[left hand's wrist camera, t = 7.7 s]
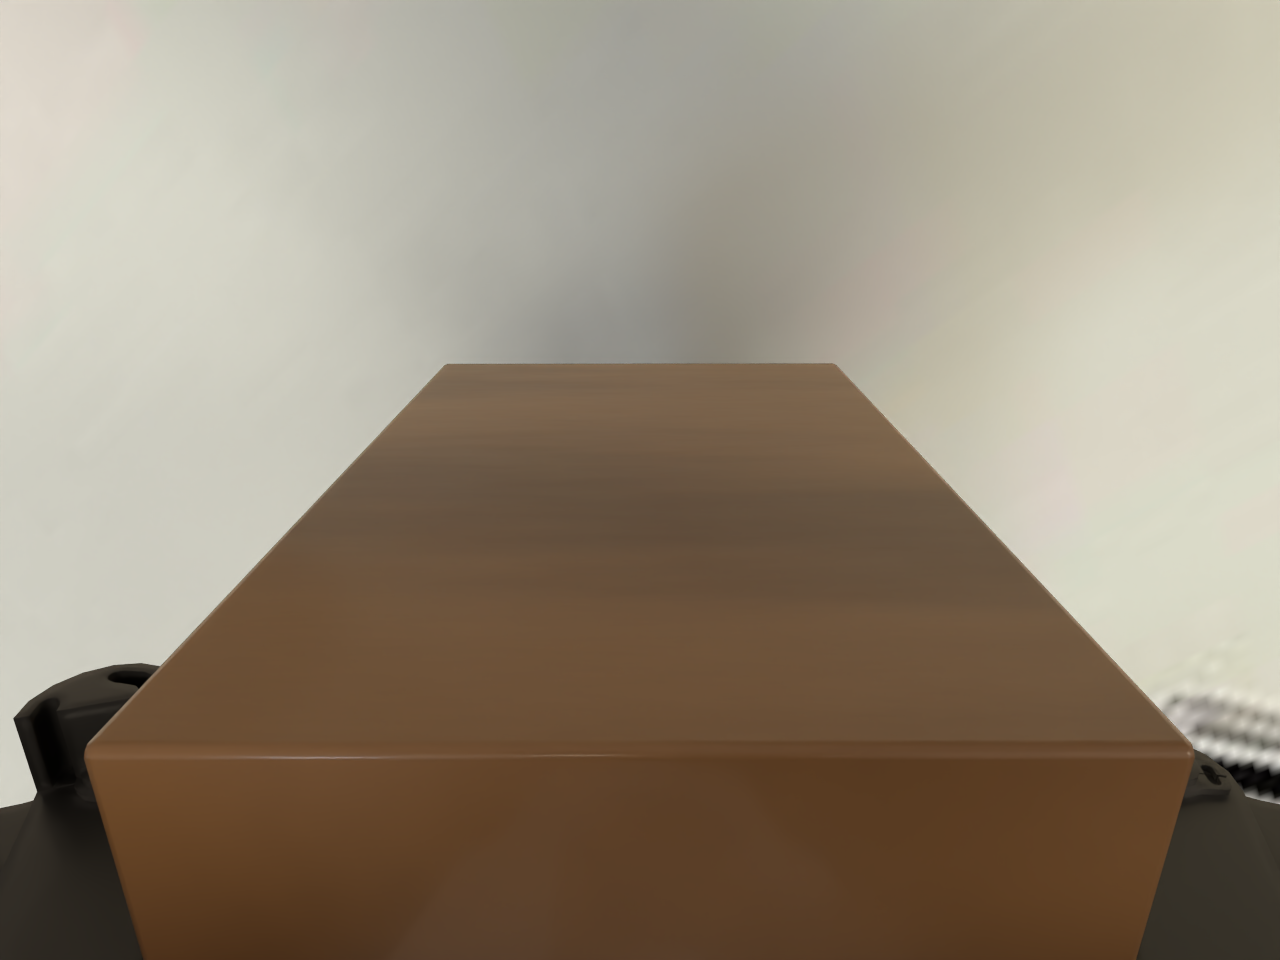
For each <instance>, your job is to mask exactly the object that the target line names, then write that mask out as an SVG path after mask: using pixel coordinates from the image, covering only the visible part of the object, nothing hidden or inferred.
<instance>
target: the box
mask: <svg viewBox="0 0 1280 960" xmlns="http://www.w3.org/2000/svg"><path fill="white" fill-rule="evenodd" d="M1194 759H1195V756H1194V749H1193V747H1192V744H1191V742H1190V741H1189V740H1188V739H1187V738H1186V737H1185V736H1184V735H1183V734H1182V733H1181V732H1180V731H1179V730H1178V729H1177V728H1176V726H1175V725H1174V724H1173V723H1172V722H1171V721H1170V720H1169V719H1168V718H1167V717H1166V716H1165V715H1164V714H1163V713H1162V712H1161V710H1160V709H1159V708H1158V707H1157V706H1156V705H1155V704H1154V703H1153V702H1152V701H1151V700H1150V699H1149V698H1148V697H1147V696H1146V695H1145V693H1144V692H1143V691H1142V690H1141V689H1140V688H1139V687H1138V686H1137V685H1136V684H1135V683H1134V682H1133V681H1132V680H1131V679H1130V677H1129V676H1128V675H1127V674H1126V673H1125V672H1124V671H1123V670H1122V669H1121V668H1120V667H1119V666H1118V665H1117V664H1116V663H1115V661H1114V660H1113V659H1112V658H1111V657H1110V656H1109V655H1108V654H1107V653H1106V652H1105V651H1104V650H1103V649H1102V648H1101V647H1100V646H1099V644H1098V643H1097V642H1096V641H1095V640H1094V639H1093V638H1092V637H1091V636H1090V635H1089V634H1088V633H1087V632H1086V631H1085V630H1084V628H1083V627H1082V626H1081V625H1080V624H1079V623H1078V622H1077V621H1076V620H1075V619H1074V618H1073V617H1072V616H1071V615H1070V614H1069V612H1068V611H1067V610H1066V609H1065V608H1064V607H1063V606H1062V605H1061V604H1060V603H1059V602H1058V601H1057V600H1056V599H1055V598H1054V597H1053V595H1052V594H1051V593H1050V592H1049V591H1048V590H1047V589H1046V588H1045V587H1044V586H1043V585H1042V584H1041V583H1040V582H1039V581H1038V579H1037V578H1036V577H1035V576H1034V575H1033V574H1032V573H1031V572H1030V571H1029V570H1028V569H1027V568H1026V567H1025V566H1024V565H1023V563H1022V562H1021V561H1020V560H1019V559H1018V558H1017V557H1016V556H1015V555H1014V554H1013V553H1012V552H1011V551H1010V550H1009V549H1008V548H1007V546H1006V545H1005V544H1004V543H1003V542H1002V541H1001V540H1000V539H999V538H998V537H997V536H996V535H995V534H994V533H993V532H992V530H991V529H990V528H989V527H988V526H987V525H986V524H985V523H984V522H983V521H982V520H981V519H980V518H979V517H978V516H977V514H976V513H975V512H974V511H973V510H972V509H971V508H970V507H969V506H968V505H967V504H966V503H965V502H964V501H963V500H962V499H961V497H960V496H959V495H958V494H957V493H956V492H955V491H954V490H953V489H952V488H951V487H950V486H949V485H948V484H947V483H946V481H945V480H944V479H943V478H942V477H941V476H940V475H939V474H938V473H937V472H936V471H935V470H934V469H933V468H932V467H931V465H930V464H929V463H928V462H927V461H926V460H925V459H924V458H923V457H922V456H921V455H920V454H919V453H918V452H917V451H916V450H915V448H914V447H913V446H912V445H911V444H910V443H909V442H908V441H907V440H906V439H905V438H904V437H903V436H902V435H901V434H900V432H899V431H898V430H897V429H896V428H895V427H894V426H893V425H892V424H891V423H890V422H889V421H888V420H887V419H886V418H885V416H884V415H883V414H882V413H881V412H880V411H879V410H878V409H877V408H876V407H875V406H874V405H873V404H872V403H871V402H870V401H869V399H868V398H867V397H866V396H865V395H864V394H863V393H862V392H861V391H860V390H859V389H858V388H857V387H856V386H855V385H854V383H853V382H852V381H851V380H850V379H849V378H848V377H847V376H846V375H845V374H844V373H843V372H842V371H841V370H840V369H839V367H838V366H837V365H835V364H447V365H444V366H443V368H442V369H441V370H440V371H439V372H438V373H437V374H436V375H435V376H434V377H433V378H432V379H431V380H430V381H429V382H428V383H427V384H426V386H425V387H424V388H423V389H422V390H421V391H420V392H419V393H418V394H417V395H416V396H415V397H414V398H413V399H412V400H411V401H410V402H409V404H408V405H407V406H406V407H405V408H404V409H403V410H402V411H401V412H400V413H399V414H398V415H397V416H396V417H395V418H394V419H393V420H392V422H391V423H390V424H389V425H388V426H387V427H386V428H385V429H384V430H383V431H382V432H381V433H380V434H379V435H378V436H377V437H376V438H375V440H374V441H373V442H372V443H371V444H370V445H369V446H368V447H367V448H366V449H365V450H364V451H363V452H362V453H361V454H360V455H359V457H358V458H357V459H356V460H355V461H354V462H353V463H352V464H351V465H350V466H349V467H348V468H347V469H346V470H345V471H344V472H343V473H342V475H341V476H340V477H339V478H338V479H337V480H336V481H335V482H334V483H333V484H332V485H331V486H330V487H329V488H328V489H327V490H326V491H325V493H324V494H323V495H322V496H321V497H320V498H319V499H318V500H317V501H316V502H315V503H314V504H313V505H312V506H311V507H310V508H309V509H308V511H307V512H306V513H305V514H304V515H303V516H302V517H301V518H300V519H299V520H298V521H297V522H296V523H295V524H294V525H293V526H292V527H291V529H290V530H289V531H288V532H287V533H286V534H285V535H284V536H283V537H282V538H281V539H280V540H279V541H278V542H277V543H276V544H275V545H274V547H273V548H272V549H271V550H270V551H269V552H268V553H267V554H266V555H265V556H264V557H263V558H262V559H261V560H260V561H259V562H258V564H257V565H256V566H255V567H254V568H253V569H252V570H251V571H250V572H249V573H248V574H247V575H246V576H245V577H244V578H243V579H242V580H241V582H240V583H239V584H238V585H237V586H236V587H235V588H234V589H233V590H232V591H231V592H230V593H229V594H228V595H227V596H226V597H225V598H224V600H223V601H222V602H221V603H220V604H219V605H218V606H217V607H216V608H215V609H214V610H213V611H212V612H211V613H210V614H209V615H208V616H207V618H206V619H205V620H204V621H203V622H202V623H201V624H200V625H199V626H198V627H197V628H196V629H195V630H194V631H193V632H192V633H191V634H190V636H189V637H188V638H187V639H186V640H185V641H184V642H183V643H182V644H181V645H180V646H179V647H178V648H177V649H176V650H175V651H174V652H173V654H172V655H171V656H170V657H169V658H168V659H167V660H166V661H165V662H164V663H163V664H162V665H161V666H160V667H159V668H158V669H157V670H156V672H155V673H154V674H153V675H152V676H151V677H150V678H149V679H148V680H147V681H146V682H145V683H144V684H143V685H142V686H141V687H140V689H139V690H138V691H137V692H136V693H135V694H134V695H133V696H132V697H131V698H130V699H129V700H128V701H127V702H126V703H125V704H124V705H123V707H122V708H121V709H120V710H119V711H118V712H117V713H116V714H115V715H114V716H113V717H112V718H111V719H110V720H109V721H108V722H107V723H106V725H105V726H104V727H103V728H102V729H101V730H100V731H99V732H98V733H97V734H96V735H95V736H94V737H93V738H92V739H91V740H90V741H89V743H88V744H87V746H86V749H85V753H84V761H85V764H86V767H87V771H88V774H89V778H90V781H91V784H92V788H93V791H94V794H95V798H96V801H97V805H98V808H99V811H100V815H101V818H102V822H103V825H104V828H105V832H106V835H107V838H108V842H109V845H110V849H111V852H112V855H113V859H114V862H115V866H116V869H117V872H118V876H119V879H120V882H121V886H122V889H123V893H124V896H125V899H126V903H127V906H128V909H129V913H130V916H131V920H132V923H133V926H134V930H135V933H136V937H137V940H138V943H139V947H140V950H141V953H142V957H143V960H1136V958H1137V955H1138V951H1139V948H1140V944H1141V941H1142V937H1143V934H1144V931H1145V927H1146V924H1147V920H1148V917H1149V913H1150V910H1151V906H1152V903H1153V900H1154V896H1155V893H1156V889H1157V886H1158V882H1159V879H1160V876H1161V872H1162V869H1163V865H1164V862H1165V858H1166V855H1167V851H1168V848H1169V845H1170V841H1171V838H1172V834H1173V831H1174V827H1175V824H1176V821H1177V817H1178V814H1179V810H1180V807H1181V803H1182V800H1183V796H1184V793H1185V790H1186V786H1187V783H1188V779H1189V776H1190V772H1191V769H1192V766H1193V762H1194Z"/></svg>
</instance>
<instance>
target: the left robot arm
mask: <svg viewBox="0 0 1280 960" xmlns="http://www.w3.org/2000/svg"><path fill="white" fill-rule="evenodd" d="M159 667H160V666H155V665H149V664H143V663H138V664H124V665H113V666H109V667H105V668H101V669H97V670H92V671H88V672H84V673H82V674H79V675H77V676H74V677H72V678H70V679H67V680H65V681H62V682H60V683H58V684H55V685H53V686H52V687H50V688H48V689H47V690H45V691H44V692H42V693H41V694H39V695H38V696H36V697H34V698H33V699H31V700H30V701H29V702H28V703H27V704H26V705H25V706H24V707H23V708H22V709H21V710H20V712H19V713H18V714H17V715H16V716H15V717H14V718H13V719H14V722H15V725H16V728H17V731H18V734H19V737H20V740H21V743H22V746H23V749H24V752H25V756H26V759H27V762H28V765H29V768H30V771H31V774H32V777H33V780H34V783H35V786H36V789H37V794H36V796H35V798H34V800H33V801H30V802H27V803H23V804H18V805H14V806H9V807H4V808H0V960H143V957H142V953H141V950H140V947H139V943H138V940H137V937H136V933H135V930H134V926H133V923H132V920H131V916H130V913H129V909H128V906H127V903H126V899H125V896H124V893H123V889H122V886H121V882H120V879H119V876H118V872H117V869H116V866H115V862H114V859H113V855H112V852H111V849H110V845H109V842H108V838H107V835H106V832H105V828H104V825H103V822H102V818H101V815H100V811H99V808H98V805H97V801H96V798H95V794H94V791H93V788H92V784H91V781H90V778H89V774H88V771H87V767H86V764H85V761H84V753H85V749H86V746H87V744H88V743H89V741H90V740H91V739H92V738H93V737H94V736H95V735H96V734H97V733H98V732H99V731H100V730H101V729H102V728H103V727H104V726H105V725H106V723H107V722H108V721H109V720H110V719H111V718H112V717H113V716H114V715H115V714H116V713H117V712H118V711H119V710H120V709H121V708H122V707H123V705H124V704H125V703H126V702H127V701H128V700H129V699H130V698H131V697H132V696H133V695H134V694H135V693H136V692H137V691H138V690H139V689H140V687H141V686H142V685H143V684H144V683H145V682H146V681H147V680H148V679H149V678H150V677H151V676H152V675H153V674H154V673H155V672H156V670H157V669H158V668H159ZM1194 756H1195V759H1194V762H1193V766H1192V769H1191V772H1190V776H1189V779H1188V783H1187V786H1186V790H1185V793H1184V796H1183V800H1182V803H1181V807H1180V810H1179V814H1178V817H1177V821H1176V824H1175V827H1174V831H1173V834H1172V838H1171V841H1170V845H1169V848H1168V851H1167V855H1166V858H1165V862H1164V865H1163V869H1162V872H1161V876H1160V879H1159V882H1158V886H1157V889H1156V893H1155V896H1154V900H1153V903H1152V906H1151V910H1150V913H1149V917H1148V920H1147V924H1146V927H1145V931H1144V934H1143V937H1142V941H1141V944H1140V948H1139V951H1138V955H1137V958H1136V960H1280V804H1275V803H1270V802H1265V801H1260V800H1257V799H1253V798H1249V797H1246V796H1245V794H1244V792H1243V790H1242V789H1241V788H1240V786H1239V785H1238V784H1237V782H1236V781H1235V780H1234V778H1233V777H1232V776H1231V774H1230V773H1229V772H1228V771H1227V770H1225V769H1224V768H1223V767H1221V766H1220V765H1219V764H1217V763H1216V762H1215V761H1213V760H1212V759H1211V758H1209V757H1208V756H1207V755H1205V754H1203V753H1201V752H1199V751H1197V750H1195V749H1194Z"/></svg>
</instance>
